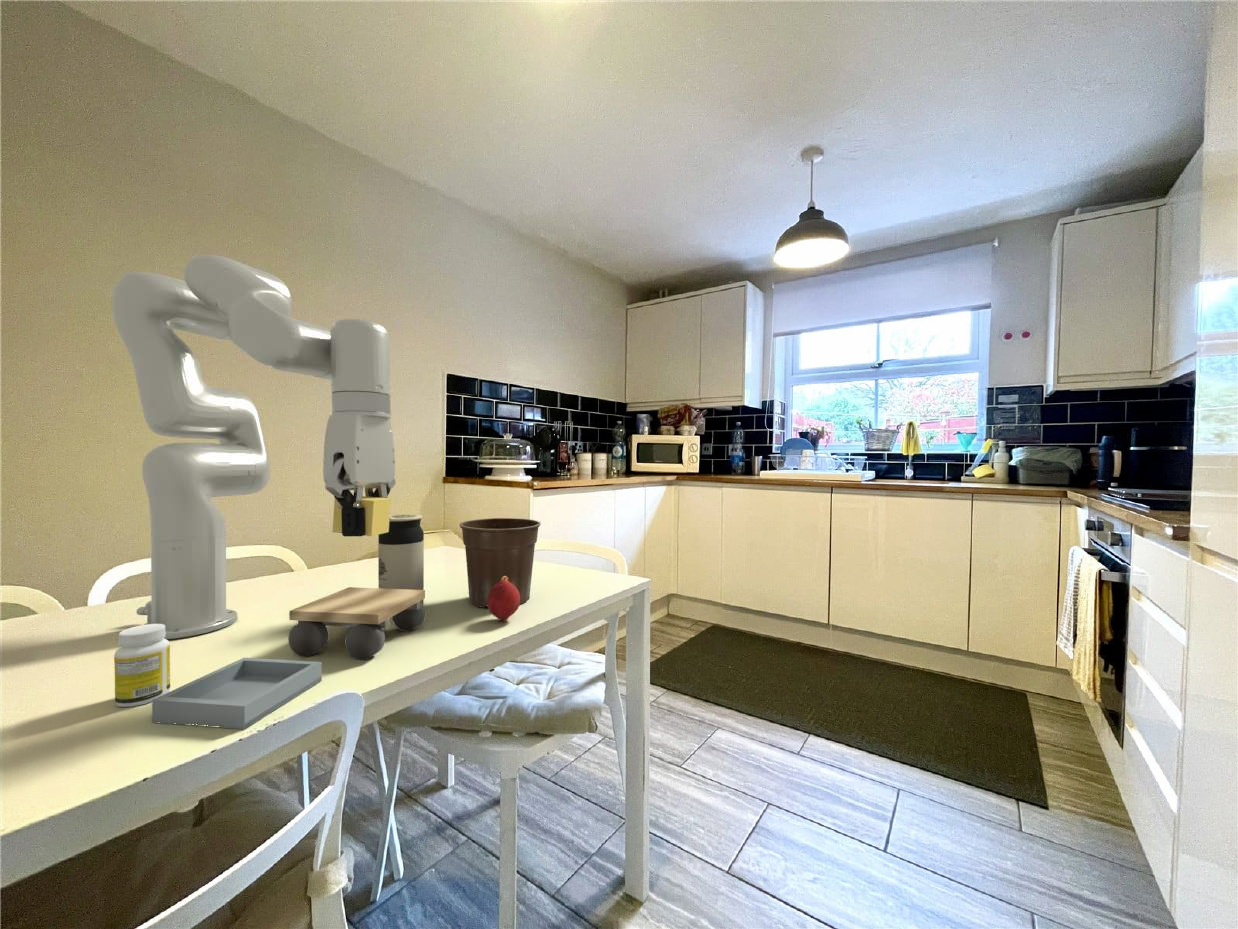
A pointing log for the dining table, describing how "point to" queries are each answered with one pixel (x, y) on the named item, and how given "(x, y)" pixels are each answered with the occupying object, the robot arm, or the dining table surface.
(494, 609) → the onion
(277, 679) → the tray
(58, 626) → the dining table surface
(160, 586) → the robot arm
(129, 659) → the supplement bottle
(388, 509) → the block
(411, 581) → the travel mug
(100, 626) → the dining table surface
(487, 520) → the plant pot
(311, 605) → the dolly
